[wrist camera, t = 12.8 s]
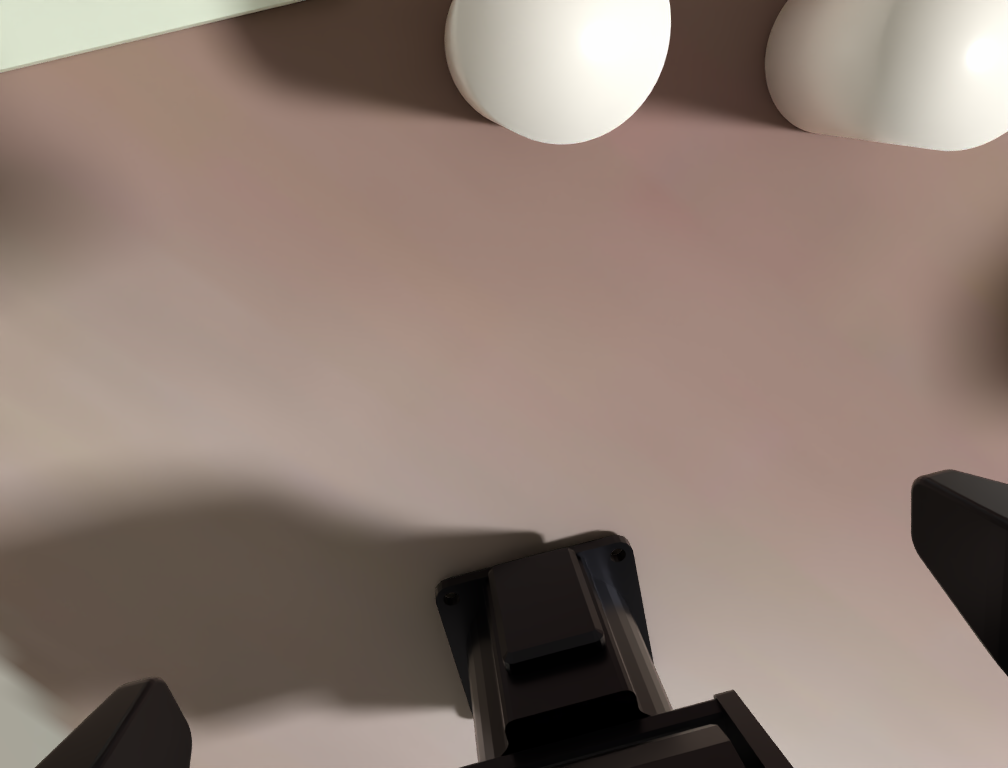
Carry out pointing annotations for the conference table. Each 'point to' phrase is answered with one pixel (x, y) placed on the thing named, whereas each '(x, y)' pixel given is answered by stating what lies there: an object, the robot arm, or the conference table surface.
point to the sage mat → (102, 24)
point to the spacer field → (788, 66)
